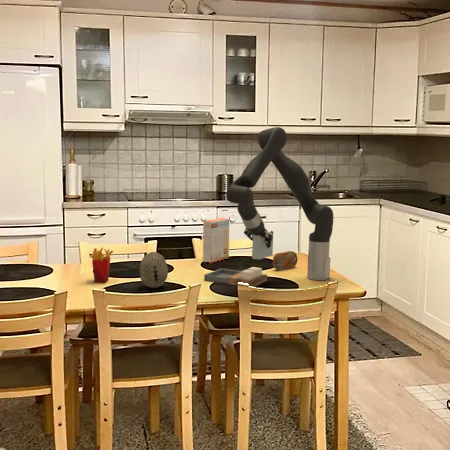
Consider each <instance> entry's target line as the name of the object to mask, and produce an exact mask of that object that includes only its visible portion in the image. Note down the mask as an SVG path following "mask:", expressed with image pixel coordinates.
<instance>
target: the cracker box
mask: <svg viewBox="0 0 450 450" xmlns="http://www.w3.org/2000/svg"><path fill="white" fill-rule="evenodd" d="M202 224H203V229H202V230H203V232H202V233H203V236H202V237H203V240H202V242H203V243H202V248H203V249H202V250H203V251H202V255H203V257H202V258H203V259H202V261H203V263H206V262H209V263H208V264H214V263H213V262H215V263H218V262H217V261H219V262H222V261H221V260H223V261H225V260H224V259H228V258H229V259H230V219H229V218H226V217H225V218H224V217H220V218H219V217H218V218H214V219H208V220H203V223H202ZM229 259H228V260H229Z"/></svg>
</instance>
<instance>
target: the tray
mask: <svg viewBox="0 0 450 450" xmlns="http://www.w3.org/2000/svg"><path fill="white" fill-rule="evenodd" d="M241 271H242V270H234V269H227V268H222V267H221V268H219V269H216V270H214V271H211V272H208V273H205V274H204V275H203V276H204V277H203V278H204V281H205V282H209V283H210V282H211V283H216V284H224V285H228V284H227V277H229V276H232V275H234V274H237V273H239V272H241Z"/></svg>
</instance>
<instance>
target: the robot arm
mask: <svg viewBox="0 0 450 450" xmlns="http://www.w3.org/2000/svg"><path fill="white" fill-rule="evenodd" d="M287 140H288V135H287V133H286V131H285V129H284V128H283V127H279V126H276V127H275V126H274V127H271V128H267V129H263V130H261V131H260V132H259V133H258V135H257V143H258V145H259V147H260V149H261V151H260V152H259V153H258V154H257V155H256V156H254V158H252V159H251V160H250V161H249V162H248V164H247V165H246V167H245V168H244V170H243V171H242V173H241V175H239V177H237V178H236V179H235V180H234V181H232V183H231V184H230V185H229V186H228V187H227V189H226V192H225V196H226V200H227V201H228V202H229V203H232V204H236V205H237V206H236V207H237V212H238V215H239V216H240V219H241V220H242V223H243V225H244V227H245V229H244V231H243V234H244V236H246V237H247V238H248V239H249V240H251V241H252V242H253V236H255V235H258V236H260V237H261V238H262V240H263V241H264V242H265V244H266V246H267V248H270V246H271V241H272V239H273V240H274V231H273V230H270V231H269V230H268V229H267V228H265V223H264V220H263V218H262V216H261V214H260V213H259V211H258V210H257V208H256V205H255V202H254V193H253V190H252V189H253V188H254V187H255V186H256V185H257V184H258V182H259V180H260V178H261V177H262V175H263V173H264V172H265V170H266V169H267V168H268V166H269V165H270V163H272V164H273V165H274V167H275V169H277V172H278V173H279V174H280V175H281V177H282V179H283V180H284V182H285V184H286V185H287V187H288V188H289V190H290V191H291V193H292V194H293V196H294V197H295V198H296V200H297V201H298V204H299V205H300V207H301V209H302V211H303V213H304V215H305V217H306V218H307V221H309V222H310V223H311V225H314V231H313V232H310V233H309V235H308V251H307V254H308V255H307V275H306V276H307V279H308V280H313V281H326V280H328V279H330V274H331V273H330V272H331V257H330V241H331V240H330V239H331V237H332V234H333V227H334V211H333V209H332V208H331V207H330V206H328V205H323V204H320V203H319V202H318V201H317V200H316V198H315V197H314V195H313V193H312V190H311V182H310V180H309V177H308V175H307V174H306V172H305V171H304V169H303V167H302V166H301V165H300V164H298V162H296V161H294V160H293V159H291V158H289V157H288V156H287V155H286V154H285V153H284V152H283V151H282V149H283V148H284V147H285V146H286V144H287ZM251 188H252V189H251ZM267 235H268V236H267ZM263 237H264V238H263Z"/></svg>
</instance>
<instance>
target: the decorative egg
mask: <svg viewBox="0 0 450 450" xmlns="http://www.w3.org/2000/svg"><path fill="white" fill-rule="evenodd" d="M138 268H139V269H138V273H139V278H140V281H141V283H142V284H143V285H144V286H146V287H148V288H150V289H157V288H159V287H161V286H163V285H164V284H165V282H166V281H167V278H168V276H169V270H168V264H167V260H166V259H165V257H164V256H163V255H162V254H160V253H159V252H156V251H151V252H148V253H147V254H145V255H144V257H143V258H142V259H141V262H140V264H139V267H138Z"/></svg>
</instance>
